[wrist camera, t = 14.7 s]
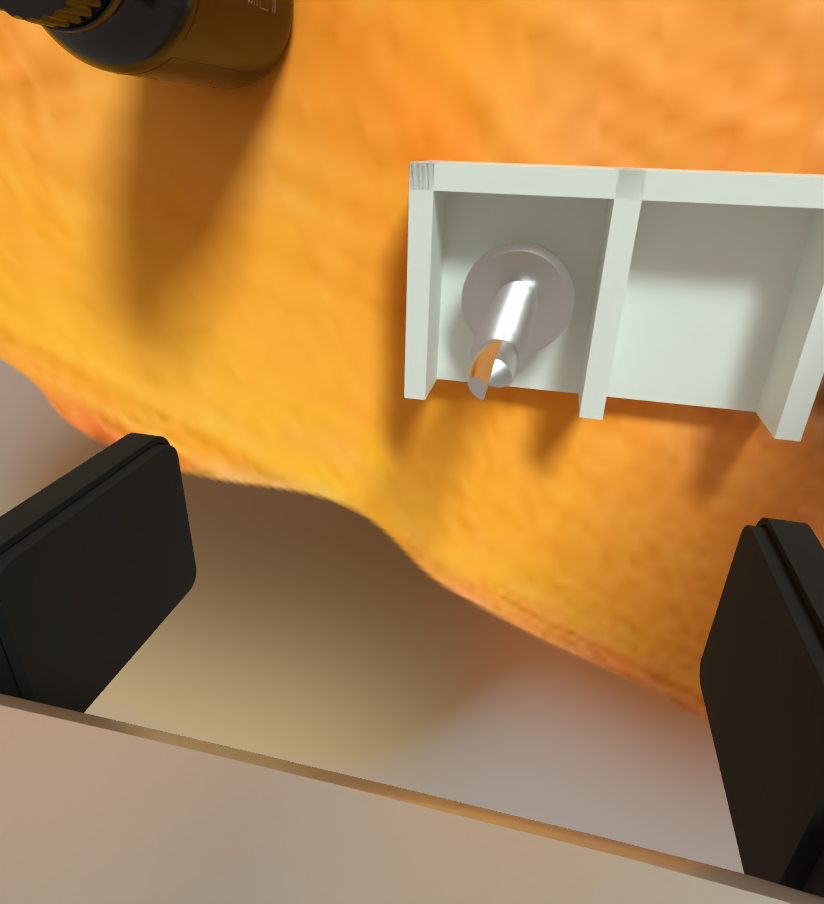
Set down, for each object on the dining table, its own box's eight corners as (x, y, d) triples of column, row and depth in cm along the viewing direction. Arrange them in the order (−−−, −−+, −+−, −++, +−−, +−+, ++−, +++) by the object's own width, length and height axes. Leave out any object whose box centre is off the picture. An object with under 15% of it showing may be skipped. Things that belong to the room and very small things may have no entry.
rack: (842, 175, 25) (889, 180, 21) (771, 404, 30) (800, 441, 26) (430, 160, 28) (409, 162, 25) (422, 369, 33) (404, 397, 29)
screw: (589, 251, 27) (554, 353, 30) (483, 223, 28) (456, 326, 30) (603, 326, 16) (544, 482, 18) (424, 276, 16) (388, 435, 19)
